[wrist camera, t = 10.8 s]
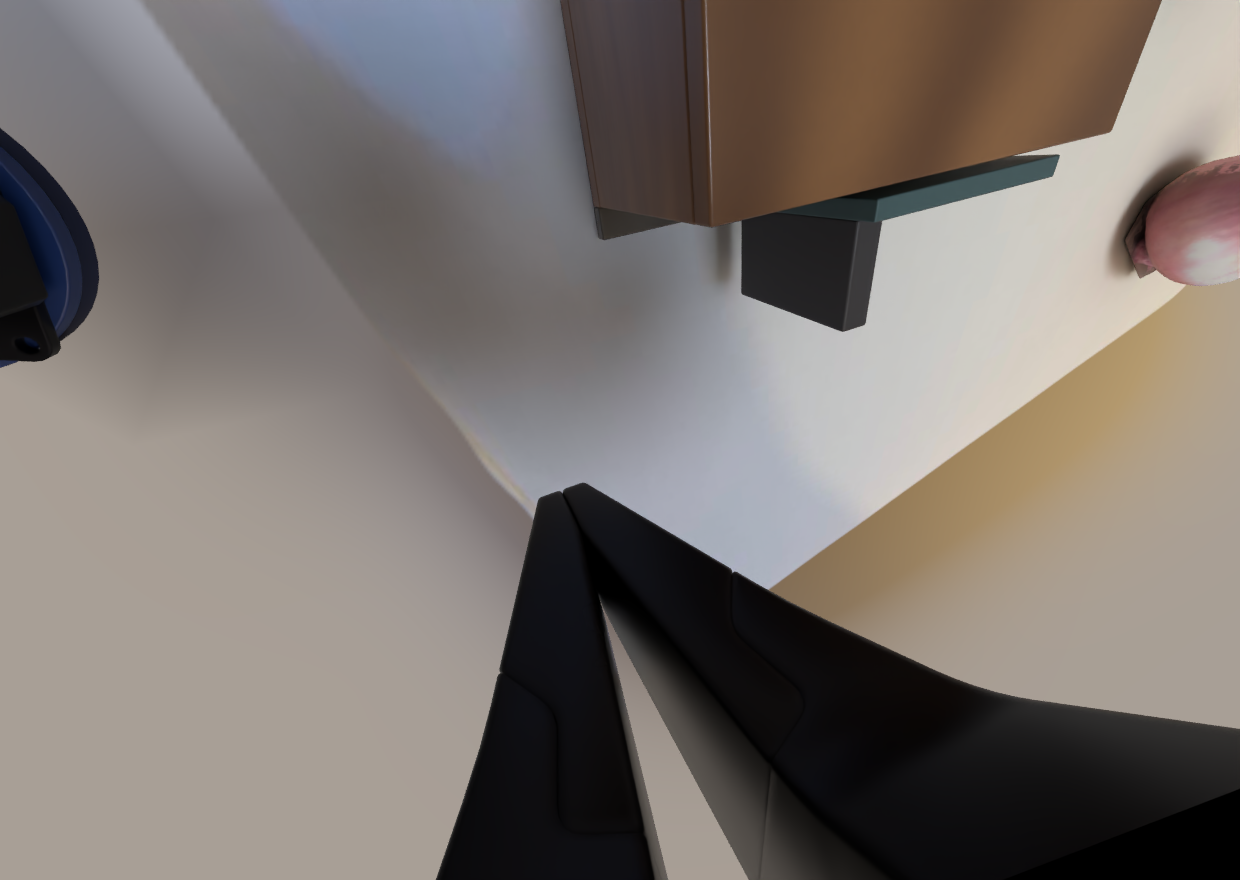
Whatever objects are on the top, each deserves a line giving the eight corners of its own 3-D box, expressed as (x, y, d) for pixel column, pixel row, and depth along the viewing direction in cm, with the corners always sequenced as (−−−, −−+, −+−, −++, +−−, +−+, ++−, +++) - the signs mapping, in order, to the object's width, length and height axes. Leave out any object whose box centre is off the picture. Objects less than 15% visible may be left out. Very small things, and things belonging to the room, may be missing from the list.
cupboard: (598, 238, 18) (711, 280, 11) (545, -90, 13) (689, -402, 6) (869, 176, 22) (1095, 177, 14) (909, -110, 16) (1291, -333, 9)
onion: (1220, 152, 30) (1409, 146, 24) (1153, 272, 34) (1301, 292, 28) (1150, 155, 28) (1340, 150, 22) (1086, 283, 32) (1233, 307, 26)
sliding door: (721, 290, 21) (856, 341, 14) (719, 190, 18) (878, 198, 12) (844, 256, 22) (1015, 289, 16) (856, 160, 20) (1061, 154, 14)
